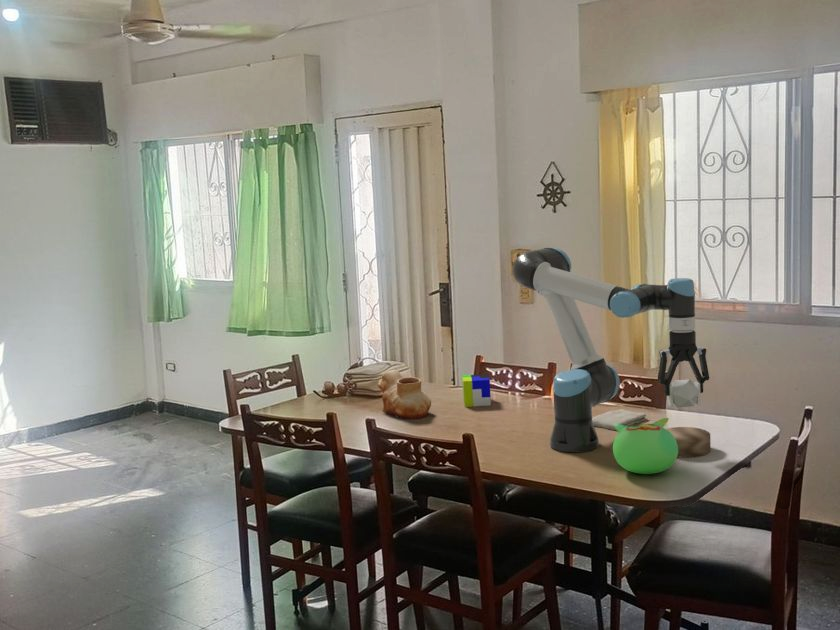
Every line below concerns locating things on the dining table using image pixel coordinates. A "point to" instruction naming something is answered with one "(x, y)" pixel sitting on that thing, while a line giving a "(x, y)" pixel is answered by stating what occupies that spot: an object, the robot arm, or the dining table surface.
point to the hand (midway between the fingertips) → (684, 404)
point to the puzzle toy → (476, 390)
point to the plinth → (691, 441)
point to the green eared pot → (645, 447)
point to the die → (684, 393)
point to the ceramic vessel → (403, 396)
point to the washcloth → (617, 418)
